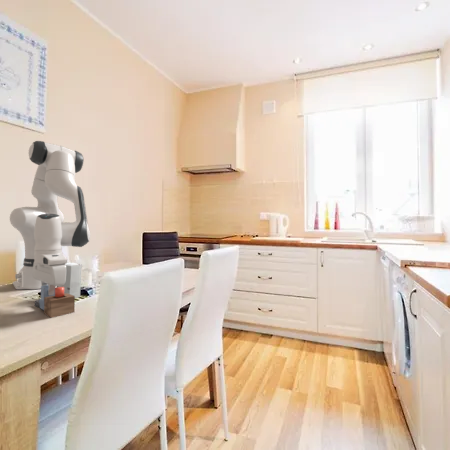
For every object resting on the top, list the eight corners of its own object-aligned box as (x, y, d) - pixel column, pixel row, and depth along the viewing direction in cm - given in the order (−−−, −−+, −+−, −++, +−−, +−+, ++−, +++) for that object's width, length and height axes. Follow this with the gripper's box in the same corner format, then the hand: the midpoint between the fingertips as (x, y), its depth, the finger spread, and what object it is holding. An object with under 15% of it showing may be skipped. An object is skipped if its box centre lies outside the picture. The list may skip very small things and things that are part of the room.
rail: (34, 305, 116) (34, 300, 116) (40, 304, 117) (40, 299, 117) (48, 312, 108) (48, 307, 108) (54, 311, 109) (54, 306, 109)
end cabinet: (44, 313, 107) (44, 297, 106) (67, 308, 113) (67, 293, 113) (51, 317, 103) (51, 300, 103) (74, 312, 109) (74, 296, 109)
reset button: (53, 296, 107) (53, 287, 107) (62, 294, 110) (62, 286, 110) (57, 297, 106) (57, 289, 106) (65, 295, 108) (65, 287, 108)
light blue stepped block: (39, 308, 110) (39, 285, 110) (50, 305, 114) (51, 283, 113) (45, 311, 107) (45, 287, 107) (56, 308, 110) (56, 286, 110)
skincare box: (55, 297, 127) (55, 263, 126) (67, 294, 132) (68, 261, 132) (70, 300, 124) (70, 265, 123) (81, 296, 129) (82, 263, 129)
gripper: (28, 255, 114) (28, 290, 114) (51, 261, 101) (50, 300, 102) (45, 253, 119) (45, 287, 119) (69, 259, 106) (69, 297, 107)
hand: (48, 293), depth 110 cm, fingers closed on light blue stepped block, 2 cm apart
